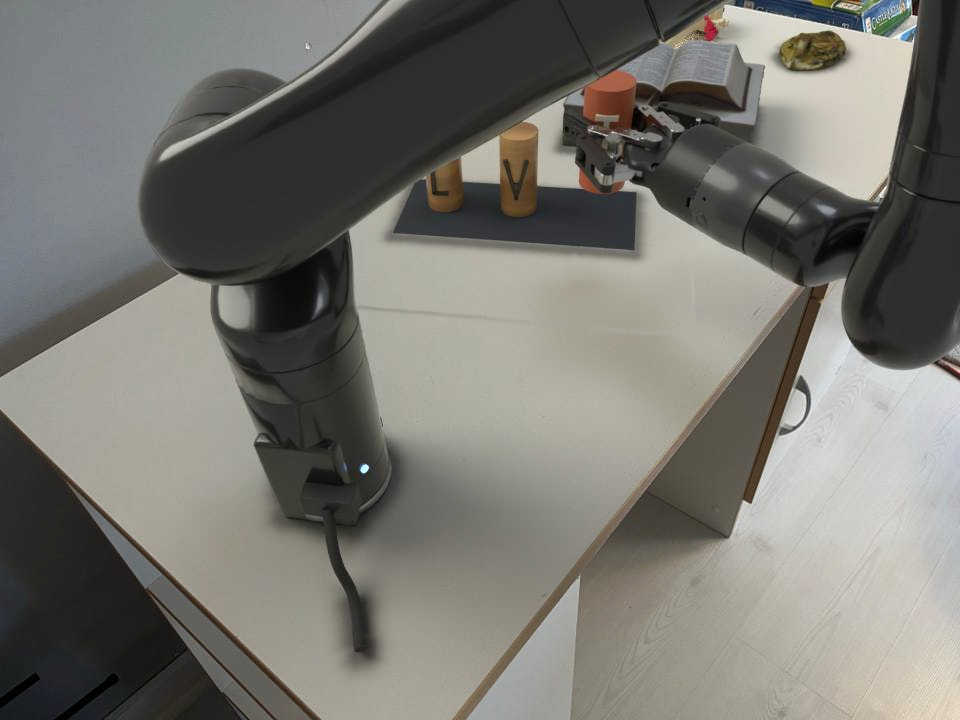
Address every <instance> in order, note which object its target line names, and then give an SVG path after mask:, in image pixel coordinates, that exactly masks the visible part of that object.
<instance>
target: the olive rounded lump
mask: <svg viewBox="0 0 960 720" xmlns="http://www.w3.org/2000/svg"><path fill="white" fill-rule="evenodd" d="M845 42H846V41H845V40H844V39H843V38H842V37H841V36H840V34H839V33H836V32H834V31H833V30H822V31H819V32H806V33H805V32H800V33H798V34H797V35H794V36H792V37H790V38H789V39H787V40H786V41H784V42H783V43H782V45H781V46H780V48H779V52H778V59H779V60H780V62H781V63H782V64H783V65H784V66H785V67H786V68H788V69H790V70H794V71H815V70H820V69H825V68H828V67H830V66H832V65H834V64H835V63H836V62H838V61H840V60H842V59H843V58H844V56H845V54H846V52H847V47H846V43H845Z"/></svg>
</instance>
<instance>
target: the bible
mask: <svg viewBox="0 0 960 720" xmlns="http://www.w3.org/2000/svg"><path fill="white" fill-rule="evenodd" d="M765 69H766V65H765V64H760V63H752V62H745V61H744V59H743V57H742V54H741V51H740V49H739V46H738V44H736V43H733V42H717V41H703V40H700V39H699V40H697V39H696V40H690V41H686V42H685V43H683V44H682V45H681V46H680V47H679V48H677V49H675V48H672V47H671V46H670V45H668V44H665V43H660V45H659V46H657V47H655V48H654V49H652V50H650V51H648V52H647V53H645V54H643V55H641V56H640V57H638V58H636V59H634V60H633V61H631V62H629V63H627V64H626V65H624V66H622V67H620V68H619V69H617V71H623V72H626V73H629V74H631V75H633V76H634V77H635V78H636V81H637V83H636V91H635V100H634V104H636V105H638V106H640V105H649V106H651V107H652V108H657V107H658V103H659V102H669V103H673V104H676V105H680V106H683V107H687V108H690V109H694V110H698V111H701V112H705V113H708V114H712V115H715V116H718V117H720V118H721V120H720V124H719V128H720V129H722V130H724V131H726V132H728V133H730V134H732V135H734V136H736V137H738V138H740V139H743V140H745V141H747V142H749V143H751V144H752V140H753V136H754V130H755V128H756V126H757V121H758V114H759V113H758V112H759V110H760V109H759V108H760V102H761V101H760V100H761V93H762V84H763V80H764V75H765ZM584 95H585V87H584V88H582V89H580V90H578V91H576V92H574V93H572V94H570V95H568V96H567V97H565V100H564V101H563V104H562V107H563V109H564V110H563V113H564V112H566V111H569V110H574V111H576V112H577V113H579V114H581V115H583V110H584ZM670 118H671V119H672V120H673V121H674V122H675V123H679V118H678V117H676V116H673V115H670ZM635 130H636V129H635ZM561 145H562V146H564V147H572V148H576V146H577V143H576V142H574V141H573V140H572V139H569V138H568V137H566V136H564V135H563V136H562V143H561Z"/></svg>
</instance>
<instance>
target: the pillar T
mask: <svg viewBox="0 0 960 720" xmlns="http://www.w3.org/2000/svg"><path fill="white" fill-rule="evenodd" d="M636 83H637V81H636V78H635V77H634V76H633V75H631V74H629V73H626V72H623V71H617V70H615V71H613V72H612V73H610V74H608V75H606V76H605V77H603V78H600V79H599V80H598V81H596V82H594V83H592V84H590V85H588V86H586V87H585V95H584V110H583V116H585V117H586V118H588V119H589V120H592V121H594V122H595V123H596V125H600V126H603V127H606V128H609V129H613V130H614V129H616V128H617V127H619V126H621V127H625V128H628V129H631V125H632V117H633V108H634V100H635V91H636ZM625 142H626V141H623V143H622V152H621V155H622V157H623V149H624V144H625ZM600 147H602V148H606V149H608V142H607V141H606V140H603V139H601V145H600ZM578 171H579V172H578V184H579V186H580V187H581V189H585V190H586V191H589V192H591V193H596V194H610V193H614V192H617V191H621V190H622V189H623V188H624V186H625V184H626V181H622V182H617V183H613V190H612V192H610V193H601V192H599V191H598V189H597V188H596V187H595V186H594V185H593V183H592V182H591V181H590V180H589V179H588V178H587V176H586V175H585V174H584V173H583V172H582V171H581V169H580V168H579V170H578Z"/></svg>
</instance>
